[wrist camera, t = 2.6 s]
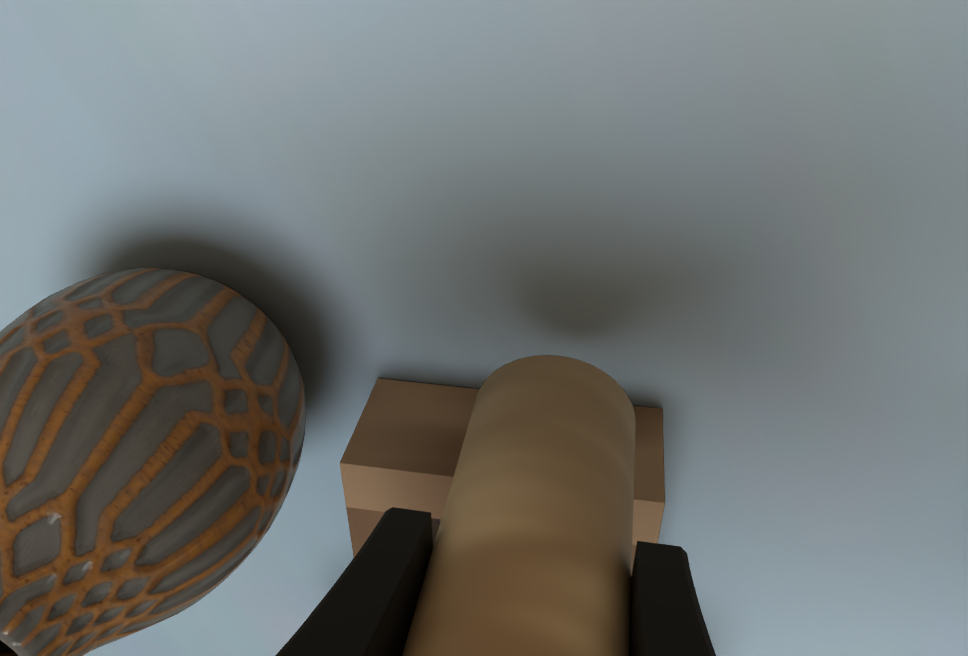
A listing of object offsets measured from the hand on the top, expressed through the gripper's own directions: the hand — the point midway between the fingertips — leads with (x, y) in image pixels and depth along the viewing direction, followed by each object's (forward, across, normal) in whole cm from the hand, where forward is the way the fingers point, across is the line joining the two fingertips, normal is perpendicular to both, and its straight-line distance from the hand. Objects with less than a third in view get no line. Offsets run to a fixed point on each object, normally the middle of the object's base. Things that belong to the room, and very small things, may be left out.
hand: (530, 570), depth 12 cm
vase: (+7, +9, +2) cm, 12 cm away
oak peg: (+3, 0, 0) cm, 3 cm away
